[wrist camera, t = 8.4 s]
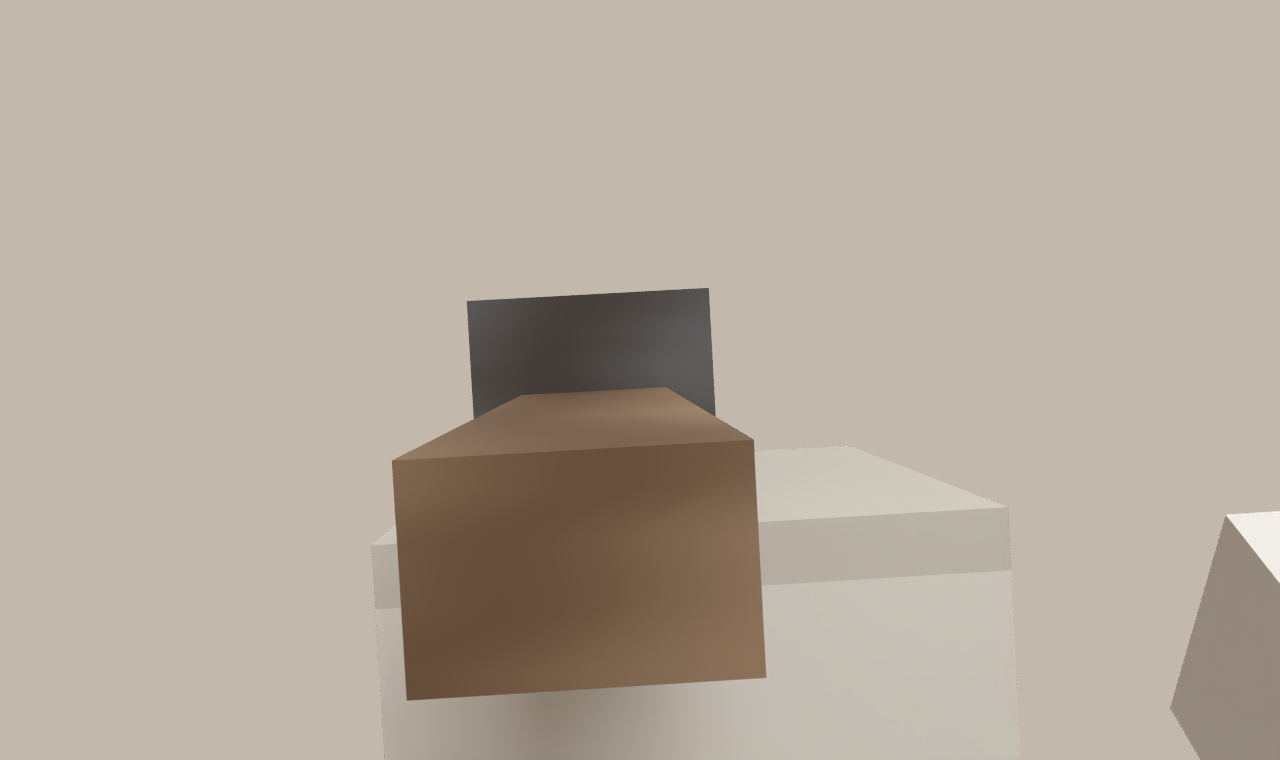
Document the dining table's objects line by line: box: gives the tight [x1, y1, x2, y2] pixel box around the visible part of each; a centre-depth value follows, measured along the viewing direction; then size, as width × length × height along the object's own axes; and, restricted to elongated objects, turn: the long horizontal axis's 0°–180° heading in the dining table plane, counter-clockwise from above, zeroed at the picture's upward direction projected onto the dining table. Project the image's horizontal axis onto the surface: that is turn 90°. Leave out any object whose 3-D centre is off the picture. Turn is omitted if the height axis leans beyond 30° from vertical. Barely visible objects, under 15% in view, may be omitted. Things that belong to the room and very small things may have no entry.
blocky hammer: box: [392, 288, 766, 701], centre depth 20 cm, size 5×20×4 cm, turn 2°
